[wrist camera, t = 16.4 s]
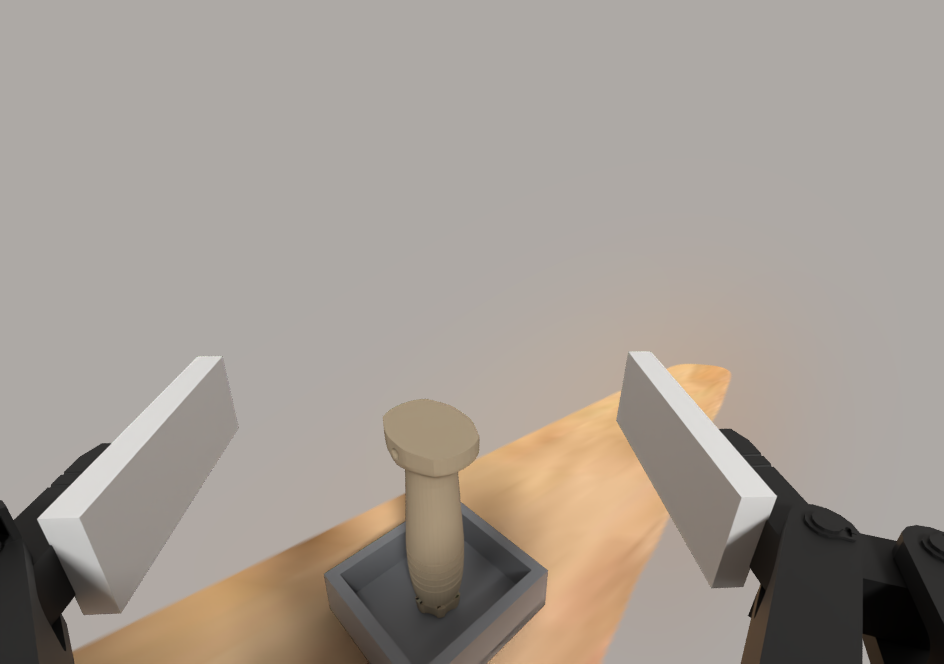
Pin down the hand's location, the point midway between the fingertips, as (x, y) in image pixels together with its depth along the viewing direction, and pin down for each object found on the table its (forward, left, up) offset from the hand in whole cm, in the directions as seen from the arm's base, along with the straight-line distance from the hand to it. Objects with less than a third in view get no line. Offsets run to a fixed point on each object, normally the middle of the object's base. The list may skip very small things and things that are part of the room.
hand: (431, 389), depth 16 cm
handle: (-1, +10, -24) cm, 26 cm away
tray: (-1, +10, -24) cm, 26 cm away
